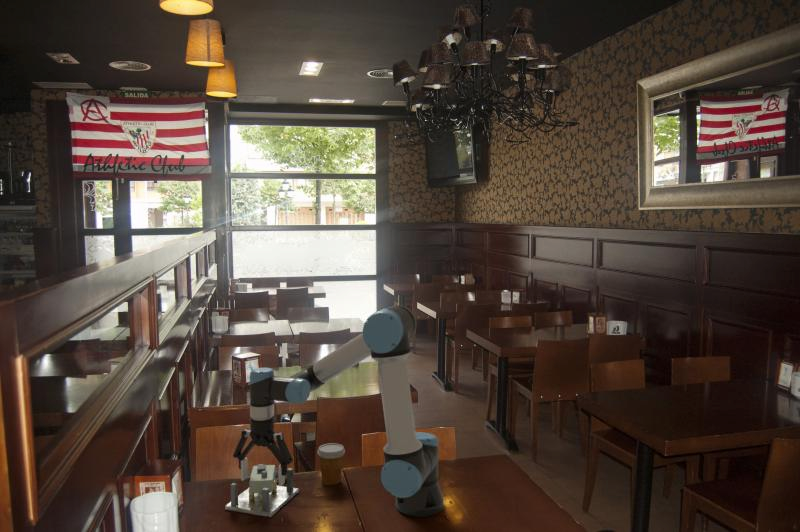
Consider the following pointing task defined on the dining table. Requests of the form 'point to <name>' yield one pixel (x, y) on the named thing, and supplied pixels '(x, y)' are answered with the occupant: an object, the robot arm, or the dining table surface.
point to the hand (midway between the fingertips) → (262, 481)
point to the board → (262, 478)
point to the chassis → (262, 498)
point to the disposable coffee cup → (331, 462)
